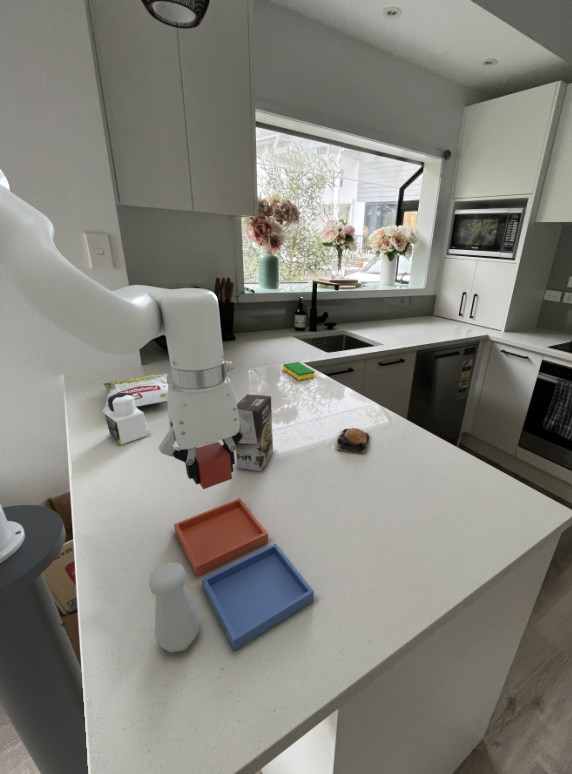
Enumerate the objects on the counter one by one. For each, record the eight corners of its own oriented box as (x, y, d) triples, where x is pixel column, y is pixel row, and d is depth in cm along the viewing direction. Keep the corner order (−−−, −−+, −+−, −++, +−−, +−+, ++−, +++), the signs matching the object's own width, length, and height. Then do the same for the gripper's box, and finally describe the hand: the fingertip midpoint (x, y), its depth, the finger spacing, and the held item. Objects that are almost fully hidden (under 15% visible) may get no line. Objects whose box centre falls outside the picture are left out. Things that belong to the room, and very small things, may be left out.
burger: (341, 431, 110) (342, 420, 108) (370, 435, 108) (371, 423, 107) (334, 450, 100) (335, 438, 98) (366, 454, 99) (367, 442, 97)
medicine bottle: (109, 435, 102) (99, 395, 97) (136, 426, 107) (128, 388, 102) (121, 445, 98) (111, 403, 93) (148, 435, 103) (140, 395, 98)
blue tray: (234, 650, 52) (233, 641, 51) (203, 588, 60) (201, 579, 60) (313, 600, 59) (313, 591, 58) (275, 551, 68) (275, 542, 67)
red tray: (197, 576, 62) (195, 567, 62) (175, 532, 71) (173, 524, 70) (268, 542, 70) (267, 533, 69) (240, 506, 79) (239, 498, 78)
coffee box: (261, 472, 90) (258, 411, 83) (236, 468, 91) (230, 408, 84) (274, 452, 98) (272, 395, 91) (250, 449, 99) (247, 392, 92)
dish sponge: (298, 366, 159) (298, 361, 158) (314, 377, 149) (314, 371, 148) (283, 369, 156) (282, 363, 155) (298, 380, 145) (298, 374, 144)
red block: (203, 489, 61) (199, 463, 59) (193, 474, 65) (189, 449, 63) (232, 478, 64) (229, 454, 62) (221, 465, 68) (218, 441, 66)
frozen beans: (166, 365, 136) (176, 390, 117) (169, 380, 139) (179, 407, 119) (100, 375, 127) (99, 403, 107) (105, 391, 130) (104, 421, 110)
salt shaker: (210, 630, 54) (200, 565, 49) (178, 667, 50) (163, 599, 44) (181, 612, 57) (169, 547, 51) (148, 645, 52) (130, 578, 47)
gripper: (241, 358, 64) (248, 449, 72) (131, 377, 55) (153, 480, 62) (262, 371, 59) (267, 468, 66) (144, 395, 49) (166, 505, 57)
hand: (212, 473), depth 64 cm, fingers closed on red block, 5 cm apart
